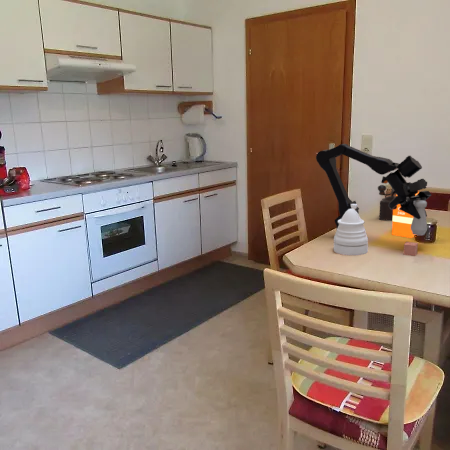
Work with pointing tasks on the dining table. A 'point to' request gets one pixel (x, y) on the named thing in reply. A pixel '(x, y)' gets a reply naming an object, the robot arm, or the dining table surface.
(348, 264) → the dining table surface
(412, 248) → the cube
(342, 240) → the honey pot
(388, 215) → the coffee grinder
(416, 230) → the salt shaker
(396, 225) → the orange juice
